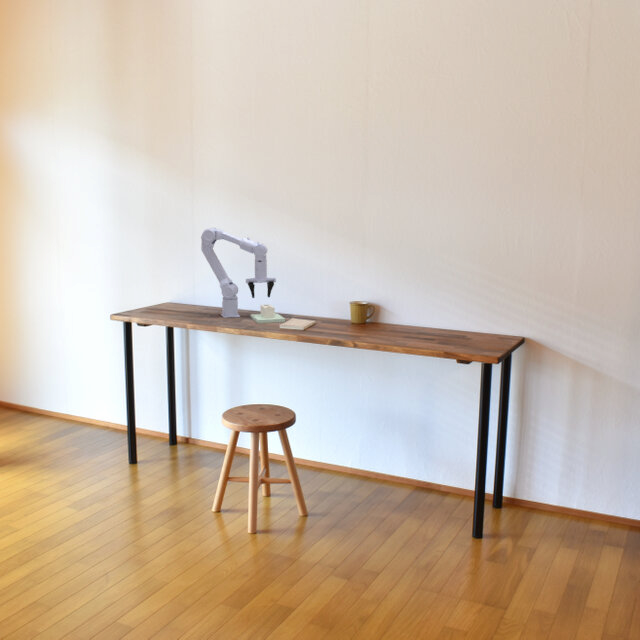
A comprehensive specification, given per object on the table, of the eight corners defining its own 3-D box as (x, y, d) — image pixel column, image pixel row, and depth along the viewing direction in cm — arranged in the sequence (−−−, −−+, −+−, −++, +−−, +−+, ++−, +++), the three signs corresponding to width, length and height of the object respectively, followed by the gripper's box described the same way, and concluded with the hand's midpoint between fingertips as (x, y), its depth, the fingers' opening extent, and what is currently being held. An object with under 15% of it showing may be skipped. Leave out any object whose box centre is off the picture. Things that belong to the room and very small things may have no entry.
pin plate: (250, 317, 379) (250, 307, 378) (276, 316, 383) (276, 306, 382) (257, 323, 364) (257, 312, 363) (285, 321, 368) (285, 311, 367)
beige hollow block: (260, 315, 376) (260, 304, 375) (269, 314, 378) (269, 304, 377) (265, 318, 368) (265, 307, 367) (274, 317, 369) (274, 307, 368)
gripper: (247, 270, 371) (248, 299, 374) (277, 269, 376) (277, 298, 378) (244, 269, 378) (245, 297, 380) (273, 268, 382) (274, 295, 385)
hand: (261, 297), depth 380 cm, fingers open, 7 cm apart
